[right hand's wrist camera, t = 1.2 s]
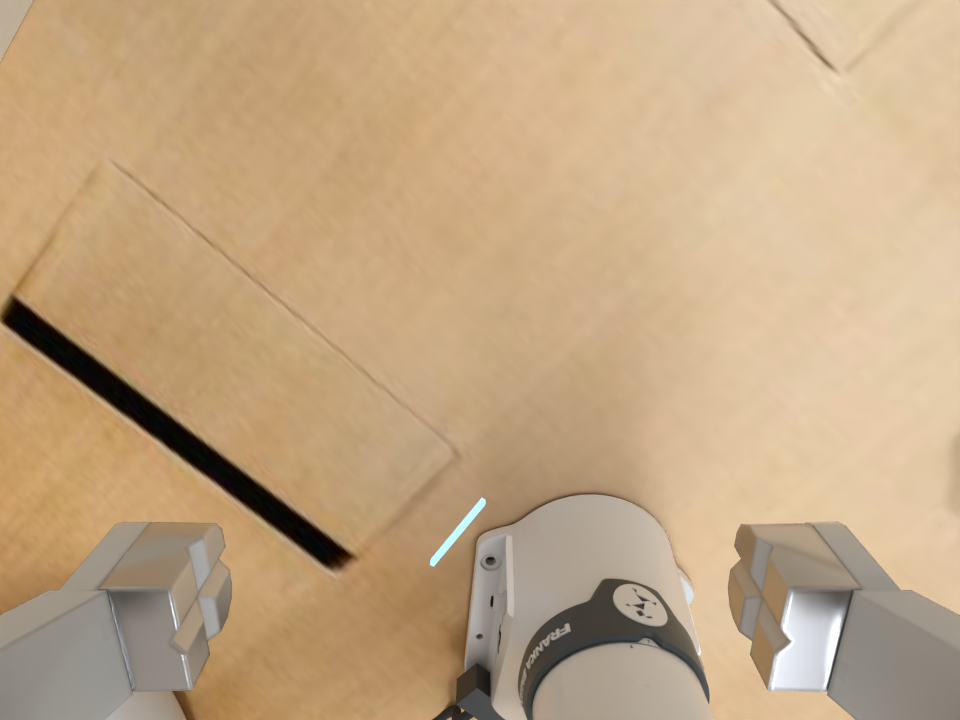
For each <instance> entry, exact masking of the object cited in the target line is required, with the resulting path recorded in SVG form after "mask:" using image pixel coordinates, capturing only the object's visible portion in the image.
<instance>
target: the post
mask: <svg viewBox="0 0 960 720" xmlns="http://www.w3.org/2000/svg"><path fill="white" fill-rule="evenodd" d="M32 2H33V0H0V62H1V60H2V58H3V56H4V54H5V52H6V51H7V49H8V47H9V45H10V43H11V41H12V39H13V38H14V36H15V34H16V32H17V30H18V28H19V26H20V25H21V23H22V21H23V19H24V17H25V15H26V13H27V12H28V10H29V8H30V6H31V4H32Z"/></svg>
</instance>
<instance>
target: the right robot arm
mask: <svg viewBox="0 0 960 720" xmlns="http://www.w3.org/2000/svg"><path fill="white" fill-rule="evenodd" d="M484 506H485V499H483V498H481V499H480V500H479V502H478V503H477V504H476V505H475V506H474V508H473V509H472V510H471V511H470V513H469V514H468V515H467V516H466V517H465V519H464V520H463V521H462V522H461V523H460V525H459V526H458V527H457V528H456V529H455V531H454V532H453V533H452V534H451V535H450V537H449V538H448V539H447V540H446V541H445V543H444V544H443V545H442V546H441V547H440V549H439V550H438V551H437V552H436V554H435V555H434V556H433V557H432V558H431V561H430V565H432V566H433V567H434V565H435V564H436V563H437V562H438V561H439V559H440V558H441V557H442V556H443V555H444V553H445V552H446V551H447V550H448V549H449V547H450V546H451V545H452V544H453V543H454V542H455V540H456V539H457V538H458V537H459V536H460V534H461V533H462V532H463V531H464V530H465V528H466V527H467V526H468V525H469V524H470V522H471V521H472V520H473V519H474V518H475V516H476V515H477V514H478V513H479V512H480V510H481V509H482V508H483V507H484ZM225 547H226V545H225V540H224V535H223V531H222V528H221V527H220V526H219V525H218V524H217V523H173V522H154V523H152V522H122V523H119V524H116V525H114V527H113V528H112V529H111V530H110V531H109V532H108V533H107V535H106V536H105V537H104V538H103V539H102V540H101V542H100V543H99V544H98V545H97V546H96V547H95V549H94V550H93V551H92V552H91V553H90V554H89V556H88V557H87V558H86V559H85V560H84V561H83V563H82V564H81V565H80V566H79V567H78V568H77V570H76V571H75V572H74V573H73V574H72V575H71V577H70V578H69V579H68V580H67V581H66V582H65V584H64V585H63V586H62V587H61V588H60V589H59V590H48V591H46V592H44V593H42V594H40V595H38V596H36V597H34V598H33V599H31V600H29V601H27V602H25V603H23V604H21V605H19V606H17V607H15V608H13V609H11V610H9V611H7V612H5V613H3V614H1V615H0V720H105V719H106V718H107V717H108V716H109V715H111V714H112V713H113V712H114V711H115V710H116V709H118V708H119V707H120V706H121V705H122V704H123V703H125V702H126V701H127V700H128V699H129V698H130V697H132V696H133V693H132V692H158V691H192V690H193V688H194V686H195V684H196V682H197V680H198V678H199V676H200V674H201V672H202V670H203V668H204V665H205V663H206V661H207V659H208V657H209V655H210V652H209V647H208V641H209V640H210V639H211V638H213V637H214V636H215V635H217V634H218V633H220V632H221V630H222V628H223V626H224V624H225V621H226V619H227V617H228V613H229V608H230V603H231V598H232V581H231V575H230V569H229V568H228V567H227V566H226V565H225V564H224V563H223V562H222V561H221V560H220V559H219V558H220V556H221V554H222V552H223V550H224V548H225ZM734 547H735V548H736V550H737V552H738V554H739V556H740V558H741V559H740V560H739V561H738V562H737V563H736V564H735V565H734V566H733V567H732V568H731V569H730V576H729V583H728V594H729V606H730V609H731V613H732V616H733V619H734V622H735V624H736V626H737V628H738V630H739V632H740V633H742V634H743V635H745V636H746V637H747V638H749V639H750V640H751V641H752V647H751V652H750V655H751V657H752V659H753V661H754V663H755V665H756V668H757V670H758V672H759V674H760V676H761V678H762V680H763V682H764V684H765V686H766V688H767V690H768V691H801V692H828V693H827V695H828V696H829V697H830V698H831V699H832V700H833V701H835V702H836V703H837V704H838V705H839V706H840V707H842V708H843V709H844V710H845V711H846V712H847V713H849V714H850V715H851V716H852V717H853V718H854V719H856V720H960V615H958V614H956V613H955V612H953V611H951V610H949V609H947V608H945V607H943V606H941V605H939V604H937V603H935V602H933V601H931V600H929V599H927V598H925V597H924V596H922V595H920V594H918V593H916V592H914V591H912V590H900V588H899V587H898V586H897V585H896V584H895V583H894V581H893V580H892V579H891V578H890V577H889V576H888V574H887V573H886V572H885V571H884V570H883V569H882V567H881V566H880V565H879V564H878V563H877V562H876V560H875V559H874V558H873V557H872V556H871V555H870V553H869V552H868V551H867V550H866V549H865V548H864V546H863V545H862V544H861V543H860V542H859V541H858V539H857V538H856V537H855V536H854V535H853V534H852V532H851V531H850V530H849V529H848V528H847V527H846V526H845V525H844V524H842V523H840V522H808V523H798V524H741V525H740V527H739V529H738V531H737V534H736V539H735V545H734ZM488 557H494V559H493V560H489V559H487V558H488ZM693 598H694V591H693V587H692V584H691V582H690V580H689V579H688V577H687V576H686V575H685V574H684V573H683V572H682V570H681V569H680V568H679V567H678V566H677V565H676V563H675V560H674V557H673V553H672V549H671V545H670V542H669V539H668V537H667V535H666V533H665V531H664V530H663V528H662V527H661V525H660V524H659V523H658V522H657V521H656V520H655V519H654V518H653V517H652V516H651V515H650V514H649V513H648V512H646V511H645V510H643V509H642V508H640V507H639V506H637V505H635V504H633V503H631V502H628V501H626V500H623V499H620V498H616V497H612V496H606V495H597V494H585V495H575V496H569V497H565V498H561V499H558V500H555V501H552V502H550V503H548V504H545V505H543V506H541V507H540V508H538V509H536V510H534V511H533V512H532V513H530V514H529V515H527V516H526V517H524V518H523V519H521V520H520V521H518V522H516V523H514V524H512V525H508V526H504V527H500V528H496V529H493V530H490V531H487V532H485V533H483V534H482V535H481V536H480V537H479V538H478V540H477V545H476V554H475V564H474V573H473V582H472V592H471V601H470V611H469V620H468V629H467V639H466V648H465V658H464V668H465V673H463V674H462V675H461V676H460V677H459V678H457V690H456V705H454V706H451V707H449V708H447V709H446V710H444V711H443V712H442V713H441V714H440V715H438V716H437V717H436V718H435V719H433V720H446V719H448V718H450V717H452V720H470V719H471V718H472V717H475V718H476V719H478V720H715V719H714V716H713V714H712V712H711V709H710V706H709V688H708V684H707V681H706V677H705V676H706V674H705V672H704V667H703V664H702V661H701V658H700V654H701V649H700V644H699V640H698V637H697V633H696V629H695V625H694V622H693V618H692V615H691V611H690V608H689V605H690V603H691V602H692V600H693ZM457 705H458V706H457ZM460 707H461V708H462V709H464V710H465V711H464V712H462V713H461V708H460Z"/></svg>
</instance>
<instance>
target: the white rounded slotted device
mask: <svg viewBox="0 0 960 720" xmlns="http://www.w3.org/2000/svg"><path fill="white" fill-rule="evenodd" d="M132 693H133V696H132V697H130V698H129V699H128V700H127V701H126V702H125V703H123V704H122V705H121V706H120V707H119V708H118V709H116V710H115V711H114V712H113V713H112V714H111V715H109V716H108V717H107V718H106V719H105V720H186V717H185V715H184V713H183V711H182V709H181V707H180V705H179V703H178V701H177V699H176V697H175V695H174V693H173V692H172V691H158V692H132Z"/></svg>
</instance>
